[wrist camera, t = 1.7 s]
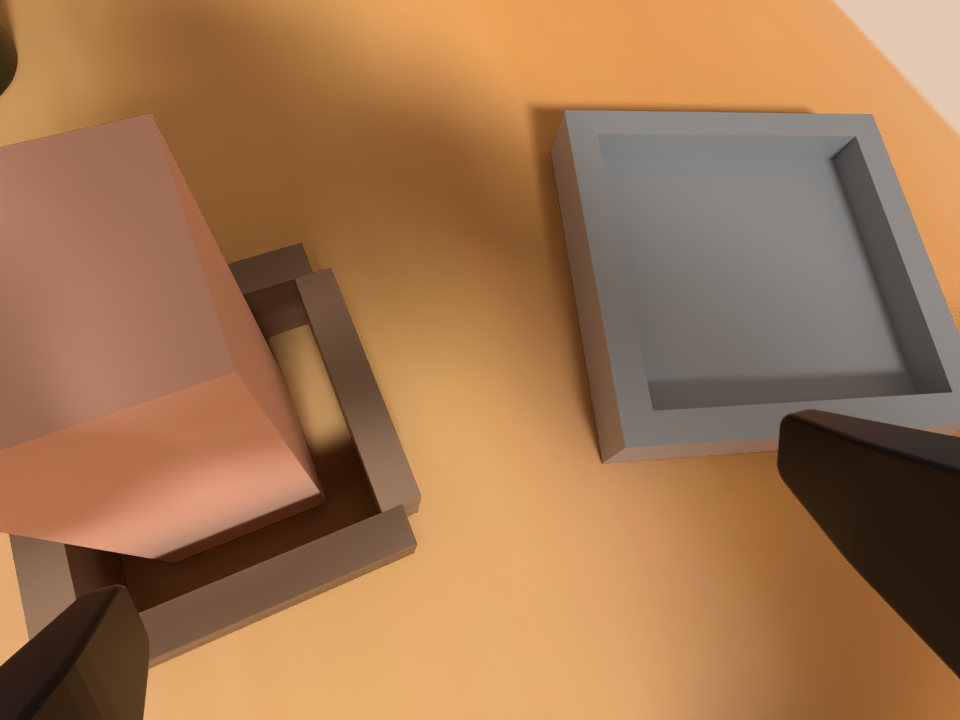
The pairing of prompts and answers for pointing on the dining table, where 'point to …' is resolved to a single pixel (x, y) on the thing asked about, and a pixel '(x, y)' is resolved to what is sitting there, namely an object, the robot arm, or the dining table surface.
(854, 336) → the grey square tray
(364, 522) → the walnut sleeve
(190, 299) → the terracotta block
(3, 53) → the wine bottle
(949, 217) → the dining table surface
